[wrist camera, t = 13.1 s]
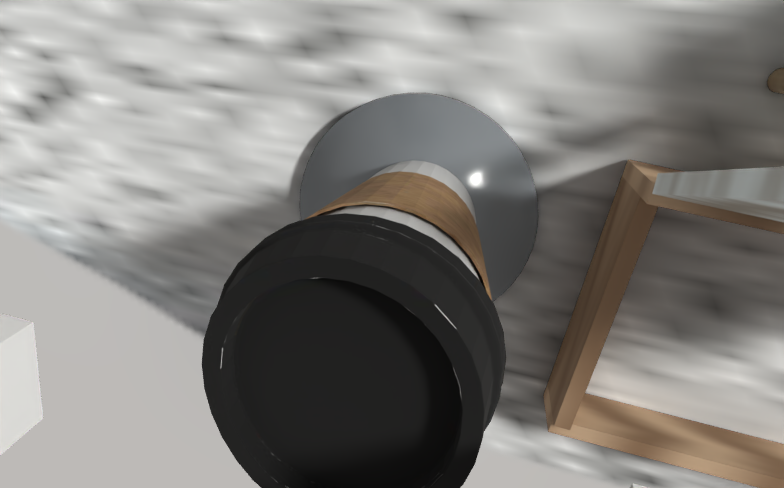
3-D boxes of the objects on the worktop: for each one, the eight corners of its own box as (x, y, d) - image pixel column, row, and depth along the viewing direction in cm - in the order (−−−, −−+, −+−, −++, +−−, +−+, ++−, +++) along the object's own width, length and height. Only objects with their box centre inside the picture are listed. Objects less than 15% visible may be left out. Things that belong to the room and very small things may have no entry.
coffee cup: (359, 305, 29) (240, 543, 16) (313, 154, 27) (121, 281, 13) (515, 280, 27) (536, 531, 13) (482, 114, 25) (465, 216, 11)
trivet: (265, 235, 30) (260, 239, 29) (382, 39, 25) (379, 40, 24) (443, 356, 30) (442, 362, 30) (590, 189, 26) (592, 192, 25)
